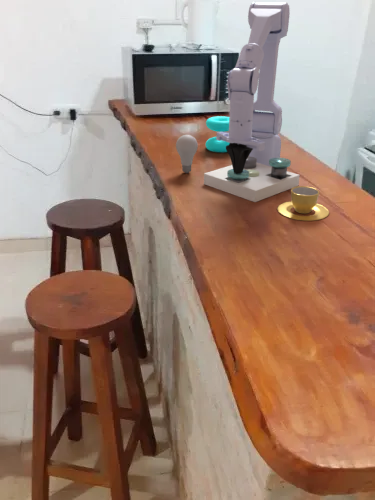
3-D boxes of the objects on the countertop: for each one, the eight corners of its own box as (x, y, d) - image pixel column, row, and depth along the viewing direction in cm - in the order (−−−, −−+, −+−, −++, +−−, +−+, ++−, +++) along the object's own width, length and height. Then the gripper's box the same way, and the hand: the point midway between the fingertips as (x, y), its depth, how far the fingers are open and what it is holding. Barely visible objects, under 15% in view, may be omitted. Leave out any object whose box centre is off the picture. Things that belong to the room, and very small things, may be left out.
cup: (325, 225, 114) (328, 203, 112) (272, 217, 118) (274, 195, 116) (331, 206, 124) (334, 185, 122) (282, 200, 128) (284, 179, 126)
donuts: (202, 116, 167) (231, 114, 169) (201, 146, 172) (230, 144, 174) (211, 123, 158) (241, 121, 161) (210, 154, 163) (239, 152, 165)
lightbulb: (195, 177, 143) (195, 138, 138) (173, 175, 144) (173, 137, 139) (199, 170, 148) (199, 132, 143) (178, 169, 149) (178, 131, 144)
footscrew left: (276, 173, 139) (278, 156, 137) (293, 178, 135) (295, 160, 133) (263, 178, 136) (264, 160, 133) (280, 183, 132) (281, 165, 130)
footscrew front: (236, 184, 137) (237, 167, 135) (252, 189, 134) (253, 172, 132) (222, 189, 134) (222, 171, 132) (238, 195, 130) (239, 177, 128)
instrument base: (247, 170, 149) (248, 153, 146) (298, 185, 137) (300, 167, 135) (203, 184, 138) (204, 166, 135) (254, 202, 126) (256, 182, 124)
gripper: (208, 117, 128) (207, 169, 134) (252, 127, 118) (249, 182, 125) (227, 113, 132) (225, 163, 138) (271, 122, 123) (267, 176, 129)
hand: (238, 172), depth 132 cm, fingers closed, pressing on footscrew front
